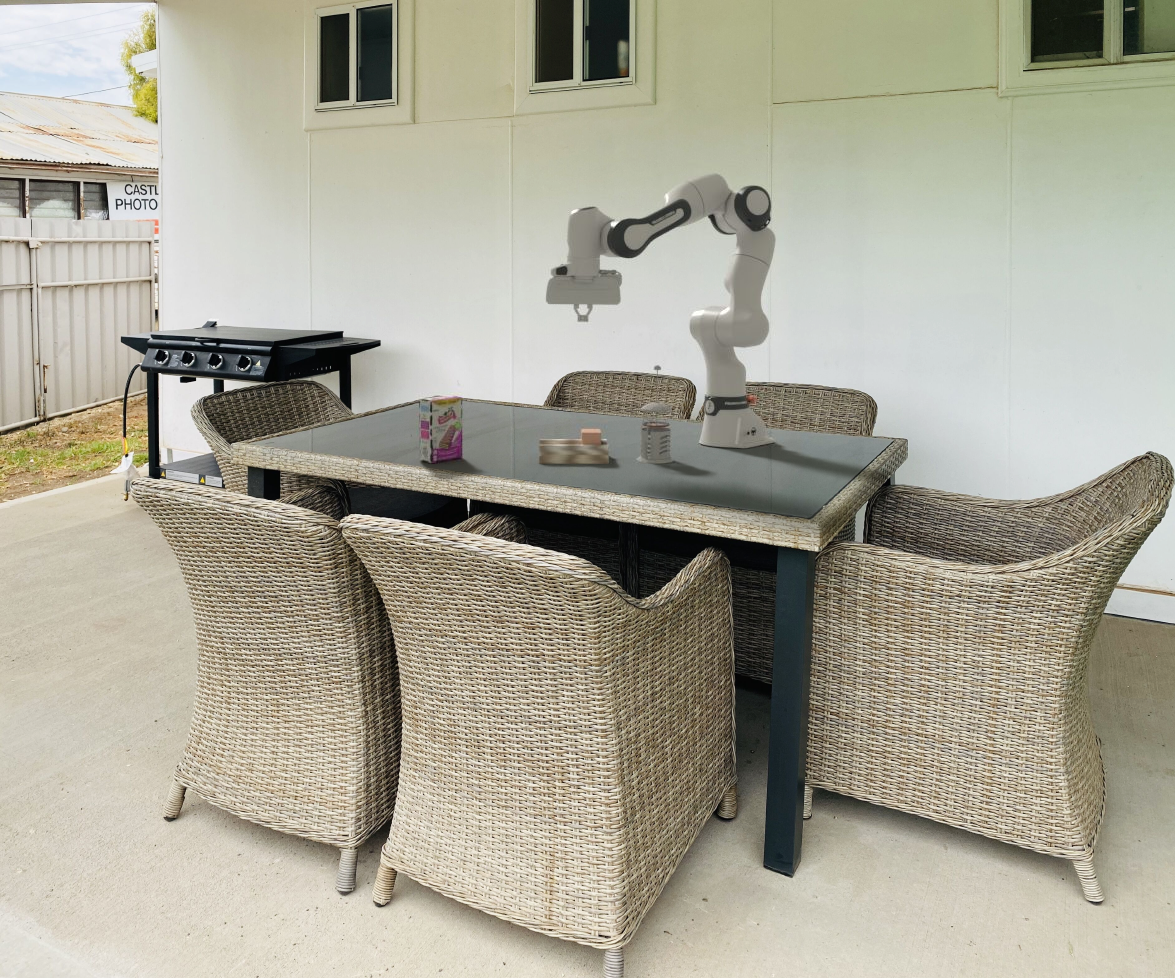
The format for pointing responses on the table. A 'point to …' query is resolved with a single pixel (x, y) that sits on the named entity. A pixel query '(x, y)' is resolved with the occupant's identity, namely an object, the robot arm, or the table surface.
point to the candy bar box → (440, 428)
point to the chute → (572, 452)
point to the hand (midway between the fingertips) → (582, 321)
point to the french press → (655, 434)
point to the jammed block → (590, 437)
